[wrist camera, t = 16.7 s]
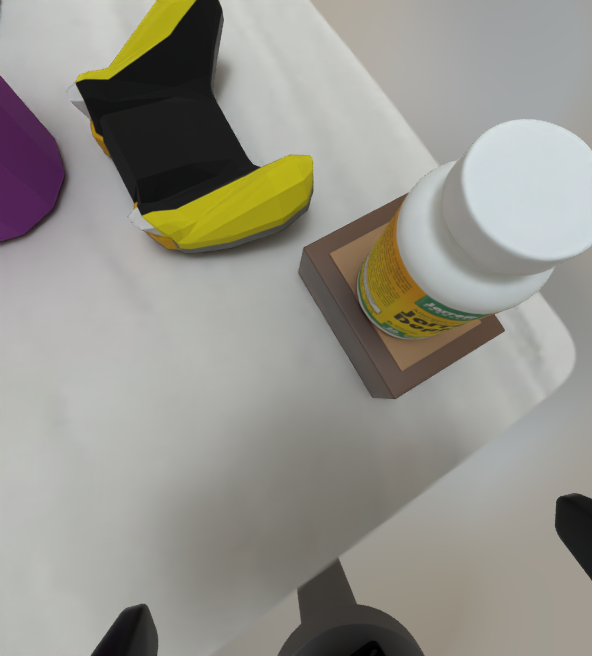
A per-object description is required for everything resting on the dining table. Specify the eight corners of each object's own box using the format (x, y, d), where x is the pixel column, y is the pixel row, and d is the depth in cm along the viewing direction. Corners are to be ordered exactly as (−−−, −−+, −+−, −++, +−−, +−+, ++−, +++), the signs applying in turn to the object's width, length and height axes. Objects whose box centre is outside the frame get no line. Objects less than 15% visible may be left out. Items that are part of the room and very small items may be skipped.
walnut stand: (465, 341, 23) (508, 330, 19) (372, 398, 22) (395, 399, 18) (389, 223, 24) (413, 188, 20) (297, 272, 23) (303, 246, 19)
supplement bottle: (446, 237, 19) (612, 89, 10) (465, 336, 18) (668, 277, 9) (347, 245, 19) (422, 98, 9) (361, 346, 18) (460, 296, 8)
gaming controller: (217, 49, 25) (79, 101, 24) (202, -45, 20) (23, 16, 18) (320, 228, 23) (177, 297, 22) (334, 179, 18) (146, 266, 17)
